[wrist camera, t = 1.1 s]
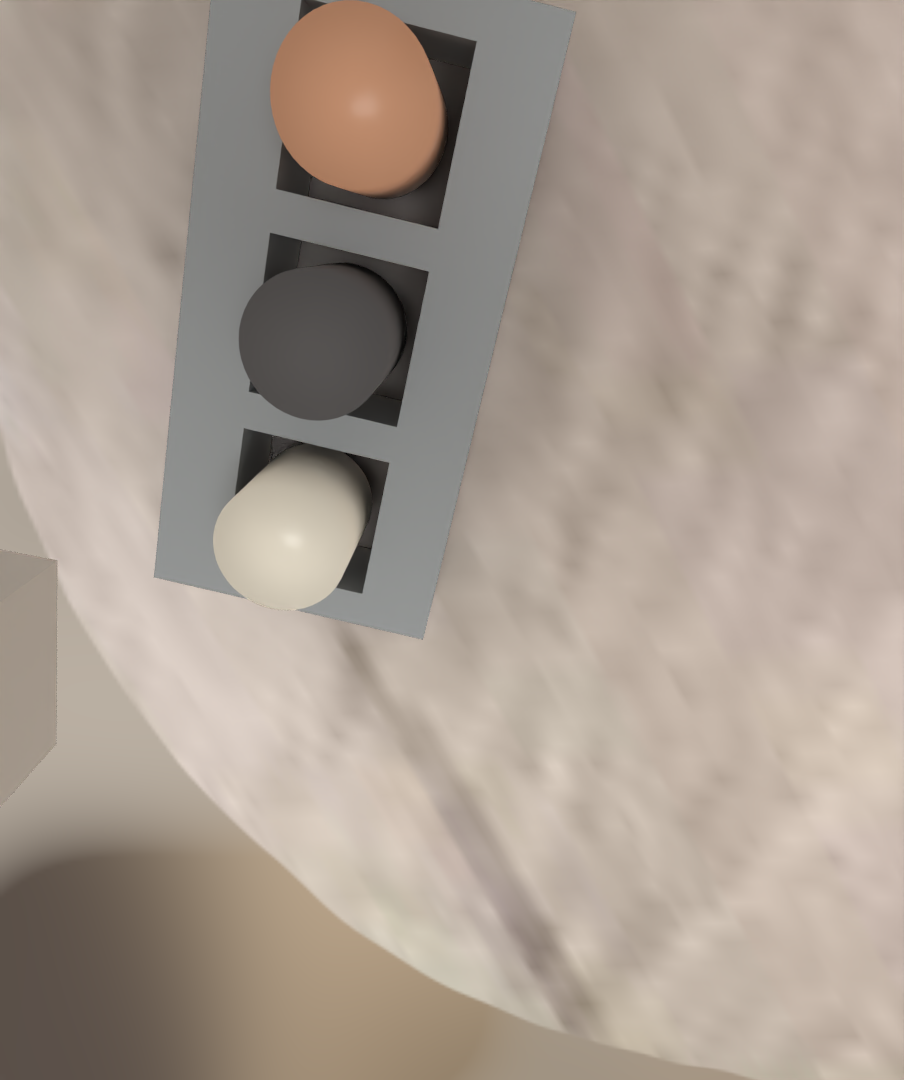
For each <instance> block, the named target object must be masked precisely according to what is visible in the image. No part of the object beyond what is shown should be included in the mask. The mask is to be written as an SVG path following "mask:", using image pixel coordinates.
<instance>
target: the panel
mask: <svg viewBox="0 0 904 1080" xmlns="http://www.w3.org/2000/svg"><path fill="white" fill-rule="evenodd" d="M336 1H343V0H211V3H210V13H209V23H208V33H207V43H206V53H205V64H204V74H203V84H202V94H201V104H200V114H199V125H198V135H197V145H196V155H195V165H194V176H193V186H192V196H191V206H190V216H189V226H188V237H187V247H186V257H185V267H184V277H183V287H182V298H181V308H180V318H179V328H178V338H177V348H176V359H175V369H174V379H173V389H172V399H171V409H170V420H169V430H168V440H167V450H166V460H165V471H164V481H163V491H162V501H161V511H160V521H159V532H158V542H157V552H156V562H155V572H154V577H155V578H160V579H164V580H168V581H172V582H177V583H181V584H185V585H190V586H194V587H198V588H203V589H207V590H211V591H216V592H220V593H224V594H228V595H233V596H237V597H241V598H245V597H244V596H242V595H241V594H240V593H239V592H237V591H236V590H235V589H234V588H233V587H232V586H231V585H230V583H229V582H228V581H227V580H226V578H225V577H224V575H223V574H222V572H221V570H220V568H219V566H218V564H217V561H216V558H215V554H214V548H213V533H214V528H215V524H216V521H217V519H218V516H219V515H220V513H221V511H222V510H223V508H224V507H225V506H226V504H227V503H228V502H229V501H230V500H231V499H232V498H233V497H234V496H235V495H236V494H237V493H239V492H240V491H241V490H242V489H243V488H244V487H245V486H246V485H247V484H248V483H249V482H250V481H251V480H252V479H253V478H254V477H255V476H256V475H257V474H258V473H259V472H260V471H262V470H263V469H264V468H265V467H266V466H267V465H268V461H269V454H270V448H271V441H272V435H275V436H279V437H283V438H287V439H292V440H296V441H300V442H304V443H308V444H313V445H317V446H321V447H325V448H329V449H334V450H338V451H342V452H346V453H350V454H355V455H359V456H363V457H367V458H371V459H376V460H380V461H384V462H388V463H389V468H388V473H387V477H386V482H385V487H384V492H383V497H382V502H381V506H380V511H379V516H378V521H377V526H376V531H375V535H374V540H373V545H372V549H368V548H363V547H359V546H357V547H356V549H355V551H354V553H353V555H352V557H351V559H350V561H349V564H348V566H347V568H346V570H345V572H344V574H343V576H342V578H341V580H340V582H339V583H338V585H337V587H336V588H335V589H334V590H333V591H332V592H331V593H330V594H329V595H328V596H327V597H326V598H324V599H323V600H321V601H320V602H318V603H316V604H314V605H312V606H309V607H306V608H302V609H297V611H302V612H306V613H310V614H315V615H319V616H323V617H328V618H332V619H336V620H340V621H345V622H349V623H353V624H358V625H362V626H366V627H371V628H375V629H379V630H383V631H388V632H392V633H396V634H401V635H405V636H409V637H414V638H418V639H422V640H423V637H424V633H425V629H426V625H427V621H428V617H429V613H430V608H431V604H432V600H433V596H434V592H435V588H436V584H437V580H438V576H439V572H440V567H441V563H442V559H443V555H444V551H445V547H446V543H447V539H448V535H449V531H450V527H451V522H452V518H453V514H454V510H455V506H456V502H457V498H458V494H459V490H460V486H461V481H462V477H463V473H464V469H465V465H466V461H467V457H468V453H469V449H470V445H471V441H472V436H473V432H474V428H475V424H476V420H477V416H478V412H479V408H480V404H481V400H482V395H483V391H484V387H485V383H486V379H487V375H488V371H489V367H490V363H491V359H492V355H493V350H494V346H495V342H496V338H497V334H498V330H499V326H500V322H501V318H502V314H503V309H504V305H505V301H506V297H507V293H508V289H509V285H510V281H511V277H512V273H513V269H514V264H515V260H516V256H517V252H518V248H519V244H520V240H521V236H522V232H523V228H524V224H525V219H526V215H527V211H528V207H529V203H530V199H531V195H532V191H533V187H534V183H535V178H536V174H537V170H538V166H539V162H540V158H541V154H542V150H543V146H544V142H545V138H546V133H547V129H548V125H549V121H550V117H551V113H552V109H553V105H554V101H555V97H556V92H557V88H558V84H559V80H560V76H561V72H562V68H563V64H564V60H565V56H566V52H567V47H568V43H569V39H570V35H571V31H572V27H573V23H574V19H575V15H576V12H574V11H570V10H567V9H563V8H559V7H555V6H551V5H547V4H543V3H539V2H535V1H531V0H357V1H363V2H368V3H371V4H374V5H377V6H380V7H382V8H384V9H386V10H387V11H389V12H391V13H392V14H394V15H395V16H396V17H398V18H399V19H400V20H401V21H402V22H404V23H405V24H406V25H407V26H408V27H409V29H410V30H411V31H412V32H413V33H414V35H415V36H416V37H417V39H418V41H419V42H420V44H421V45H422V47H423V49H424V51H425V53H426V55H427V58H430V59H434V60H438V61H442V62H446V63H450V64H454V65H458V66H462V67H466V68H469V69H471V72H470V77H469V81H468V86H467V91H466V96H465V101H464V106H463V110H462V115H461V120H460V125H459V130H458V135H457V139H456V144H455V149H454V154H453V159H452V164H451V168H450V173H449V178H448V183H447V188H446V193H445V197H444V202H443V207H442V212H441V217H440V222H439V226H438V228H434V227H430V226H426V225H422V224H418V223H414V222H410V221H406V220H402V219H397V218H393V217H389V216H385V215H381V214H377V213H373V212H369V211H365V210H361V209H357V208H353V207H349V206H345V205H341V204H337V203H333V202H329V201H324V200H320V199H316V198H312V197H308V191H309V185H310V178H311V174H309V173H308V172H307V171H306V170H305V169H304V168H302V167H301V166H300V165H299V164H298V163H297V162H296V160H295V159H294V158H293V157H292V156H291V154H290V153H289V151H288V150H287V149H286V147H285V145H284V143H283V142H282V140H281V138H280V136H279V133H278V131H277V128H276V125H275V122H274V118H273V115H272V108H271V101H270V82H271V74H272V69H273V64H274V61H275V58H276V55H277V52H278V50H279V48H280V46H281V44H282V42H283V40H284V39H285V37H286V35H287V34H288V32H289V31H290V30H291V29H292V28H293V26H294V25H295V24H296V23H297V22H298V21H299V20H300V19H302V18H303V17H304V16H305V15H307V14H308V13H310V12H311V11H312V10H314V9H316V8H318V7H320V6H322V5H325V4H328V3H332V2H336ZM301 240H302V241H306V242H311V243H315V244H319V245H323V246H327V247H331V248H335V249H339V250H343V251H347V252H351V253H355V254H359V255H364V256H368V257H372V258H376V259H380V260H384V261H388V262H392V263H396V264H400V265H404V266H408V267H413V268H417V269H421V270H425V271H429V275H428V279H427V284H426V289H425V294H424V299H423V304H422V308H421V313H420V318H419V323H418V328H417V333H416V337H415V342H414V347H413V352H412V357H411V362H410V366H409V371H408V376H407V381H406V386H405V391H404V395H403V400H402V401H400V400H396V399H392V398H388V397H384V396H379V395H375V394H372V395H371V396H370V397H369V398H368V399H367V400H366V401H365V402H364V403H363V404H362V405H361V406H360V407H358V408H357V409H356V410H354V411H352V412H350V413H348V414H347V415H344V416H341V417H339V418H335V419H330V420H322V421H315V420H306V419H300V418H297V417H294V416H291V415H289V414H286V413H284V412H282V411H281V410H279V409H277V408H276V407H274V406H273V405H272V404H270V403H269V402H268V401H266V400H265V399H264V398H263V397H262V396H261V395H260V393H259V392H258V391H257V390H256V388H255V387H254V386H253V384H252V383H251V381H250V379H249V378H248V376H247V373H246V371H245V369H244V366H243V363H242V360H241V356H240V351H239V327H240V322H241V318H242V315H243V312H244V309H245V307H246V305H247V303H248V301H249V300H250V298H251V297H252V295H253V294H254V293H255V292H256V291H257V289H258V288H259V287H260V286H261V285H263V284H264V283H265V282H266V281H267V280H269V279H271V278H272V277H274V276H276V275H278V274H280V273H282V272H285V271H288V270H292V269H297V266H298V259H299V252H300V245H301ZM246 599H247V598H246Z"/></svg>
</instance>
